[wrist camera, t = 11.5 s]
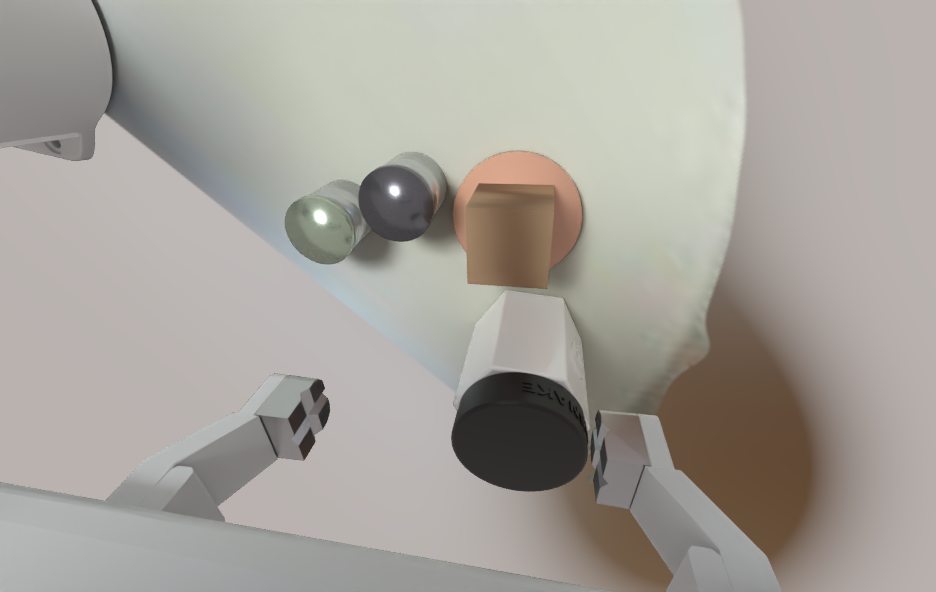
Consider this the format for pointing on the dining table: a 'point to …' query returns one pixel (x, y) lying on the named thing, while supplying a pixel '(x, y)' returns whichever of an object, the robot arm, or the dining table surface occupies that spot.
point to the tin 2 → (402, 196)
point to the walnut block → (509, 234)
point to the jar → (523, 396)
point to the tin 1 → (327, 222)
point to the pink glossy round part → (526, 171)
